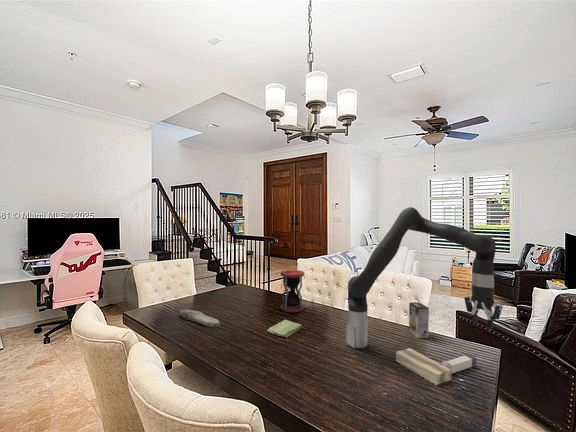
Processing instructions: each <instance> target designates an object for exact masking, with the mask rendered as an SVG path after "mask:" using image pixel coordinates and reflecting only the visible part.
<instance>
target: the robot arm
mask: <svg viewBox="0 0 576 432" xmlns="http://www.w3.org/2000/svg"><path fill="white" fill-rule="evenodd" d="M408 231H413V232H414V231H415V232H417V233H418V232H419V233H423V234H427V235H431V236H435V237H437V238H439V239H443V240H445V241H448V242H451V243H453V244H456V245H459V246H462V247H464V248H466V249H467V250H470V251H472V252H474V253H475V257H474V259H473V261H472V276H471V296H466V297H464V305H465V309H466V312H468V313H470V314H471V323H472V324H473V325H478V323H479V311H480V310H482V311H484V314H485V316H486V318H487V319H486V329H487V330H491V329H493V328H494V321H495V320H499V319H500V317H501V314H502V310H503V305H501V304H497V303H495V299H494V298H495V279H494V278H495V277H494V261H495V254H496V248H497V246H496V241H495V239H494V238H493V237H491V236H489V235H480V234H475V233H474V232H470V231H469V230H468V229H466V228H465V229H464V228H463V227H459V226H456V225H453V224H447V223H439V222H434V221H432V220H429V219H427V218H424V217H423V216H422V215H421V214H420V212H419V211H418V210H417V208H414V207H411V206H410V207H406V208H405V209H402V211H401V212H400V213H399V214H398V216H397V218H396V219H395V221H394V222H393V224H392V226H391V227H390V229H389V230H388V232H387V233H386V234H385V236H384V237H383V239H382V240H381V241H380V242H379V244H378V245H377V246H376V247H375V249H374V250H373V251H372V253H371V254H370V257H369V259H368V261H367V263H366V266H365V267H364V269H363V270H362V271H361V273H360V274H359V275H355V276H351V278H350V279H349V281H348V282H347V307H348V312H347V315H348V318H347V320H348V321H347V324H346V340H345V342H346V344H347V345H349V346H350V347H352V348H353V349H364V348H367V346H368V300H367V295H368V293H369V292H370V290H371V289H372V286H373V285H374V284H375V282H376V280H378V278H379V276H380V275H381V274H382V273H383V272H384V270H385V269H386V268H387V266H388V265H389V264H390V263H391V262H392V260H393V259H394V258H395V257H396V255H397V254H398V251H399V250H400V246H401V243H402V240H403V237H405V234H406V233H408Z"/></svg>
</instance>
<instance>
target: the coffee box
mask: <svg viewBox="0 0 576 432" xmlns="http://www.w3.org/2000/svg"><path fill="white" fill-rule="evenodd" d="M408 305H409V306H408V309H409V310H408V311H409V312H408V322H409V323H408V331H409V333H411V334H412V335H413V336H415V337H416V338H417V339H428V338H429V319H430V318H429V317H430V313H429V312H430V310H429V309H430V307H428V306H426V305H425V304H423V303H422V302H414V301H413V302H409V304H408Z"/></svg>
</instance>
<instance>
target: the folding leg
mask: <svg viewBox="0 0 576 432" xmlns="http://www.w3.org/2000/svg"><path fill="white" fill-rule="evenodd" d="M441 365H443V366H445V367H447V368H449V369H451V375H452V374H454V373H457V372H460V371H463V370H467V369H469V368H474V367H476V366H477V357H476V356H474V355H471V354H469V353H466V354H464V355H462V356H459V357H456V358H453V359H449V360H447V361H441Z"/></svg>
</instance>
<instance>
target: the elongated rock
mask: <svg viewBox="0 0 576 432" xmlns="http://www.w3.org/2000/svg"><path fill="white" fill-rule="evenodd" d="M179 316H181V317H182V318H183V319H185V320H187V321H191V322H195V323H197V324H200V325H202V326H204V327H208V328H218V327H220V326H221V322H220V320H218V318H214V317H211V316H209V315H206V314H205V313H203V312H202V311H198V310H194V309H193V310H191V309H182V310H180V311H179Z"/></svg>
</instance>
